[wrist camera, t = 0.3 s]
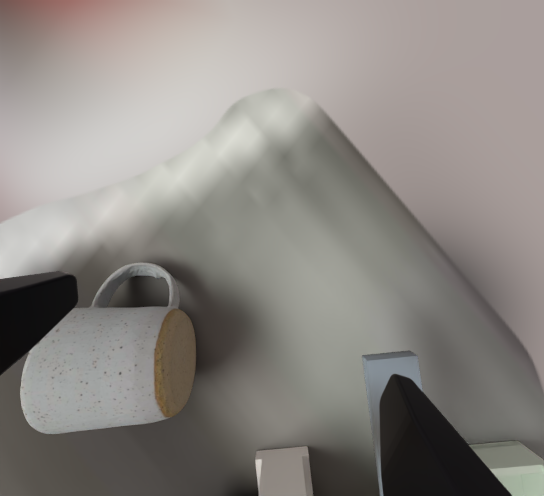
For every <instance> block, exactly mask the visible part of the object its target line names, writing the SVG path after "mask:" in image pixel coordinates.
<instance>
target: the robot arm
mask: <svg viewBox="0 0 544 496" xmlns="http://www.w3.org/2000/svg"><path fill="white" fill-rule="evenodd" d="M77 302H78V289H77V279H76V277H75V276H74V275H72V274H69V273H66V272H62V271H56V272H49V273H41V274H34V275H27V276H19V277H12V278H5V279H0V375H1V374H3V373H4V372H5V371H6V370H7V369H9V368H10V367H11V366H12V365H13V364H15V363H16V362H17V361H18V360H19V359H21V358H22V357H23V356H24V355H25V354H26V353H28V352H29V351H30V350H31V349H32V348H33V347H34V346H35V345H36V344H38V343H39V342H40V341H41V340H42V339H43V338H44V337H45V336H46V335H47V334H48V333H49V332H50V331H51V330H52V329H53V328H54V327H55V326H56V325H57V324H58V323H59V322H60V321H61V320H62V319H63V318H64V317H65V316H66V315H67V314H68V313H69V312H70V311H71V310H72V309H74V307H75V306H76V305H77ZM379 415H380V459H381V479H382V489H383V496H512V495H511V493H510V492H509V491H508V490H507V489H506V488H505V487H504V485H503V484H502V483H501V482H500V481H499V480H498V478H497V477H496V476H495V475H494V474H493V473H492V471H491V470H490V469H489V468H488V467H487V466H486V465H485V463H484V462H483V461H482V460H481V459H480V458H479V456H478V455H477V454H476V453H475V452H474V451H473V449H472V448H471V447H470V446H469V445H468V444H467V443H466V441H465V440H464V439H463V438H462V437H461V436H460V434H459V433H458V432H457V431H456V430H455V429H454V428H453V426H452V425H451V424H450V423H449V422H448V421H447V419H446V418H445V417H444V416H443V415H442V414H441V412H440V411H439V410H438V409H437V408H436V407H435V406H434V404H433V403H432V402H431V401H430V400H429V399H428V397H427V396H426V395H425V394H424V393H423V392H422V390H421V389H420V388H419V387H418V386H417V385H416V384H415V382H414V381H413V380H412V379H410V378H408V377H405V376H402V375H399V374H392V375H391V376H390V378H389V380H388V383H387V385H386V387H385V389H384V391H383V393H382V395H381V398H380V404H379Z"/></svg>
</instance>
